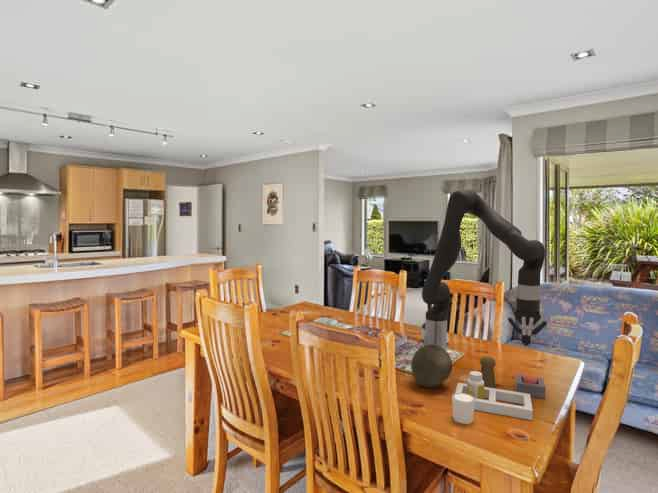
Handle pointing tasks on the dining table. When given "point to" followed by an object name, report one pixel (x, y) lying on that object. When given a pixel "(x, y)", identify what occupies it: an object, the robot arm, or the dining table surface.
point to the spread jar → (424, 333)
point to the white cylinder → (463, 407)
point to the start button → (530, 379)
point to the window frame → (502, 408)
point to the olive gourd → (488, 371)
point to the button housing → (530, 386)
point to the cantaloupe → (431, 365)
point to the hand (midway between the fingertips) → (525, 345)
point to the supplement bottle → (475, 385)
